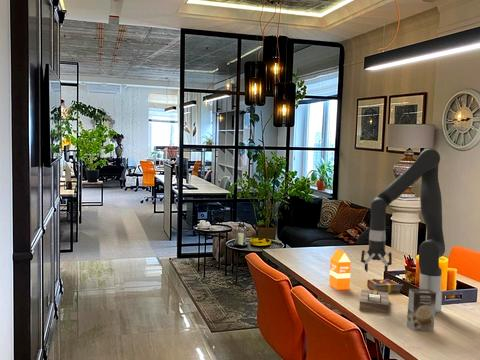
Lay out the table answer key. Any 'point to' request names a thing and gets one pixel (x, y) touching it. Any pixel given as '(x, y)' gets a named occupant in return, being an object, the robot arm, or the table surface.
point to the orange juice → (340, 270)
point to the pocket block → (374, 306)
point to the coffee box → (421, 310)
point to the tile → (374, 298)
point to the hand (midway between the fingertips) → (375, 272)
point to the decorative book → (384, 285)
